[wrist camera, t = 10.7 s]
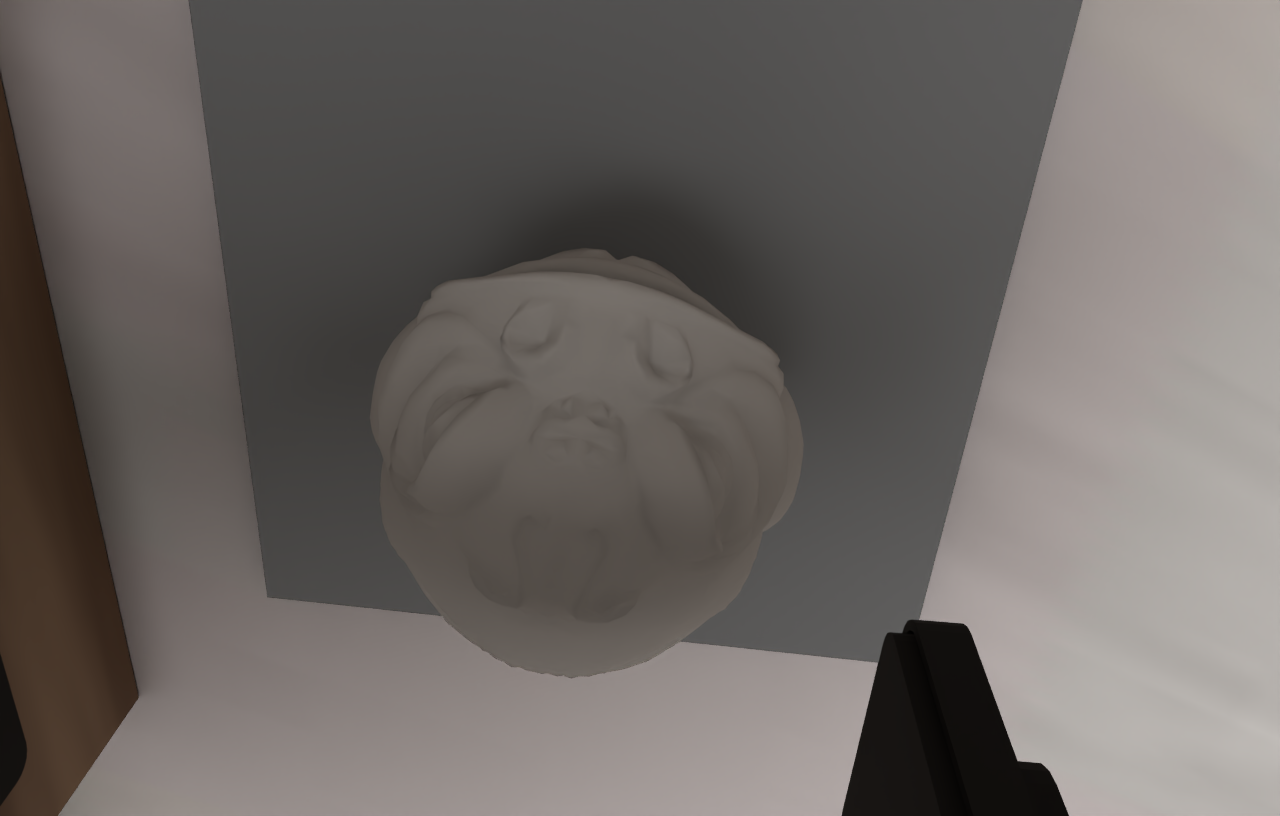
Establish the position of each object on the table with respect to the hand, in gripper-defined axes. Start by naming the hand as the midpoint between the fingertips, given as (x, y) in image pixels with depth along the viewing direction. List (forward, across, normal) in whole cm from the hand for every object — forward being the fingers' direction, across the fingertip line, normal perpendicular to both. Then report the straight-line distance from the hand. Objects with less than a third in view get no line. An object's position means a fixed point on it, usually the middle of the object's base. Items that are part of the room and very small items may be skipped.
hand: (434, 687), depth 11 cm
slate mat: (+8, -1, 0) cm, 9 cm away
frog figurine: (+8, -1, 0) cm, 8 cm away
